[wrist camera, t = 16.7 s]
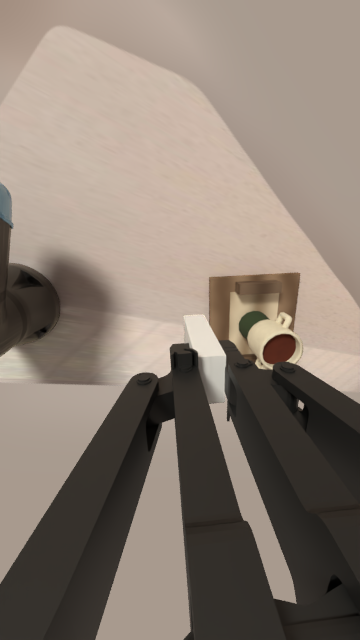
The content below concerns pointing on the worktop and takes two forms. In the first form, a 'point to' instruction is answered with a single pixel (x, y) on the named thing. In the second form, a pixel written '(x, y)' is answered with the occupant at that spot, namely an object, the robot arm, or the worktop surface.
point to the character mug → (271, 339)
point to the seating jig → (249, 303)
